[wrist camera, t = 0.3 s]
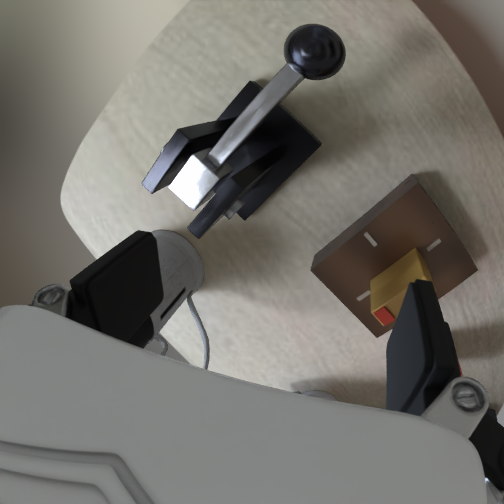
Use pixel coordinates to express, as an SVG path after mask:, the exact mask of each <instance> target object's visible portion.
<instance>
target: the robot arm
mask: <svg viewBox="0 0 504 504" xmlns="http://www.w3.org/2000/svg"><path fill="white" fill-rule="evenodd" d="M70 284H71V288H72V289H71V290H70V291H68V288H67V287H66V286H65V285H63V284H51V285H48V286H45V287H43V288H42V289H40V290H39V291H38V292H37V293H36V294H35V296H34V298H33V301H32V304H31V305H11V306H5V307H3V308H1V309H0V504H504V427H503V426H501V425H500V424H499V423H498V422H497V421H496V420H495V419H494V418H493V417H491V416H490V415H489V414H488V413H487V412H486V411H487V409H488V406H489V396H488V393H487V391H486V389H485V388H484V386H483V385H482V384H481V383H479V382H478V381H476V380H475V379H473V378H469V377H461V372H460V367H459V363H458V359H457V354H456V350H455V346H454V342H453V339H452V335H451V331H450V328H449V325H448V323H447V322H444V319H443V315H442V312H441V308H440V305H439V302H438V298H437V295H436V292H435V289H434V286H433V283H432V281H427V280H421V279H416V280H415V282H410V283H409V285H408V288H407V291H406V294H405V297H404V300H403V303H402V306H401V308H400V311H399V314H398V317H397V319H396V322H395V325H394V327H393V330H392V333H391V335H390V338H389V340H388V344H387V349H386V358H387V396H386V410H385V409H379V408H374V407H368V406H362V405H356V404H350V403H344V402H338V401H333V400H328V399H323V398H318V397H313V396H308V395H303V394H298V393H294V392H289V391H285V390H280V389H276V388H272V387H268V386H264V385H260V384H256V383H252V382H248V381H244V380H240V379H237V378H233V377H229V376H226V375H222V374H219V373H215V372H212V371H209V370H205V369H202V368H199V367H196V366H192V365H189V364H186V363H183V362H180V361H177V360H174V359H171V358H168V357H165V356H162V355H159V354H156V353H154V352H151V351H148V350H145V349H143V348H140V347H137V346H134V345H132V344H129V343H126V342H127V341H128V340H129V339H130V338H131V337H132V335H133V334H134V333H135V332H136V331H137V330H138V329H139V327H140V326H141V325H142V324H143V323H144V322H145V321H146V319H147V318H148V317H149V316H150V315H151V314H152V313H153V312H154V310H155V309H156V308H157V307H158V306H159V305H160V304H161V302H162V301H163V298H164V291H163V284H162V277H161V270H160V262H159V254H158V246H157V239H156V238H155V237H154V235H153V234H152V233H151V232H145V231H139V230H138V231H136V232H135V233H133V234H132V235H130V236H129V237H128V238H126V239H125V240H123V241H122V242H121V243H119V244H118V245H116V246H115V247H114V248H112V249H111V250H109V251H108V252H107V253H105V254H104V255H103V256H101V257H100V258H99V259H97V260H96V261H95V262H93V263H92V264H90V265H89V266H88V267H87V268H85V269H84V270H83V271H81V272H80V273H79V274H77V275H76V276H75V277H74V278H72V279H71V280H70Z"/></svg>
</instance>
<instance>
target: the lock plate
mask: <svg viewBox="0 0 504 504" xmlns="http://www.w3.org/2000/svg"><path fill="white" fill-rule="evenodd" d="M414 248H416V249H417V250H418V252H419V253H420V254H421V255H422V257H423V258H424V259H425V261H426V263H427V265H428V268H429V271H430V274H431V277H432V280H433V283H434V286H435V289H436V295H437V298H438V299H439V298H441V297H442V296H444V295H445V294H446V293H448V292H449V291H451V290H452V289H453V288H455V287H456V286H458V285H459V284H460V283H462V282H463V281H464V280H466V279H467V278H468V277H470V276H471V275H472V274H474V273H475V272H476V271H478V269H477V267H476V265H475V264H474V262H473V260H472V259H471V257H470V255H469V254H468V252H467V250H466V249H465V247H464V246H463V244H462V243H461V241H460V239H459V238H458V236H457V235H456V233H455V232H454V230H453V229H452V227H451V226H450V225H449V223H448V222H447V220H446V219H445V217H444V216H443V215H442V213H441V212H440V210H439V209H438V208H437V206H436V205H435V203H434V202H433V201H432V199H431V198H430V197H429V195H428V194H427V193H426V191H425V190H424V189H423V188H422V186H421V185H420V184H419V182H418V181H417V180H416V179H415V177H414V176H413V175H412V174H411V175H410V176H409V177H408V178H407V179H406V180H404V181H403V182H402V183H401V184H400V185H399V186H397V187H396V188H395V189H394V190H393V191H392V192H390V193H389V194H388V195H387V196H386V197H385V198H383V199H382V200H381V201H380V202H379V203H377V204H376V205H375V206H374V207H373V208H371V209H370V210H369V211H368V212H367V213H366V214H364V215H363V216H362V217H361V218H359V219H358V220H357V221H356V222H355V223H353V224H352V225H351V226H350V227H349V228H347V229H346V230H345V231H344V232H343V233H341V234H340V235H339V236H338V237H336V238H335V239H334V240H333V241H331V242H330V243H329V244H328V245H327V246H325V247H324V248H323V249H322V250H320V251H319V252H318V253H317V254H315V256H314V259H313V263H312V266H311V272H312V273H313V274H314V275H315V276H316V277H317V278H318V279H319V280H320V281H321V282H322V283H323V284H324V285H325V286H326V287H327V288H328V289H329V290H330V291H331V292H332V293H333V294H334V295H335V296H336V297H337V298H338V299H339V300H340V301H341V302H342V303H343V304H344V305H345V306H346V307H347V308H348V309H349V310H350V311H351V312H352V313H353V314H354V315H355V316H356V317H357V318H358V319H359V320H360V321H361V322H362V323H363V324H364V325H365V326H366V327H367V328H368V329H369V330H370V331H371V332H372V333H373V334H374V336H375V337H376V338H378V337H379V336H381V335H383V334H384V333H386V332H388V331H389V330H391V329H393V327H394V325H395V322H396V319H397V318H396V319H395V320H394V321H392V322H391V323H389V324H388V325H386V326H383V325H382V324H381V323H380V322H379V321H378V320H377V318H376V317H375V316H374V315H373V314H372V313H371V288H370V281H371V280H372V279H373V278H375V277H376V276H377V275H379V274H380V273H382V272H383V271H384V270H386V269H387V268H388V267H390V266H391V265H392V264H394V263H395V262H397V261H398V260H399V259H401V258H402V257H403V256H405V255H406V254H407V253H409V252H410V251H411V250H412V249H414Z"/></svg>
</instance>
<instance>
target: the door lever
mask: <svg viewBox="0 0 504 504" xmlns="http://www.w3.org/2000/svg"><path fill="white" fill-rule="evenodd" d="M284 57H285V60H286V62H287V64H286V65H285V66H284V67H283V68H282V69H281V70H280V71H279V72H278V73H277V74H276V75H275V76H274V77H273V78H272V80H271V81H270V82H269V83H268V84H267V85H266V86H265V87H264V88H263V89H262V90H261V92H260V93H259V94H258V95H257V96H256V97H255V98H254V99H253V101H252V102H251V103H250V104H249V105H248V106H247V107H246V109H245V110H244V111H243V112H242V113H241V114H240V115H239V117H238V118H237V119H236V120H235V121H234V123H233V124H232V125H231V126H230V127H229V128H228V130H227V131H226V132H225V133H224V134H223V136H222V137H221V138H220V139H219V141H218V142H217V143H216V144H215V145H214V147H213V148H211V147H209V148H206V149H203V150H201V151H198V152H196V153H193V154H192V155H191V156H190V158H189V159H188V160H187V162H186V163H185V164H184V166H183V167H182V168H181V170H180V171H179V173H178V174H177V175H176V177H175V178H174V179H173V181H172V182H171V184H170V185H169V188H170V189H171V190H172V191H173V192H174V193H175V194H176V195H177V196H178V197H179V198H180V199H181V200H182V201H183V202H185V203H186V204H187V205H188V206H189V207H190V208H191V209H192V210H193V211H194V210H196V209H197V208H198V207H200V206H201V205H202V204H204V203H205V202H206V201H208V200H209V199H210V198H211V197H212V196H213V195H214V193H215V192H216V191H217V190H218V189H219V188H220V186H221V185H222V184H223V183H224V182H225V181H226V180H227V178H228V177H229V176H230V175H231V174H232V173H233V172H234V169H233V168H232V167H231V166H230V165H229V164H228V161H229V160H230V159H231V158H232V157H233V156H234V154H235V153H236V152H237V151H238V150H239V149H240V148H241V146H242V145H243V144H244V143H245V142H246V141H247V140H248V138H249V137H250V136H251V135H252V134H253V133H254V132H255V131H256V130H257V128H258V127H259V126H260V125H261V124H262V123H263V122H264V121H265V120H266V119H267V117H268V116H269V115H270V114H271V113H272V112H273V111H274V110H275V109H276V108H277V107H278V106H279V105H280V103H281V102H282V101H283V100H284V99H285V98H286V97H287V96H288V95H289V94H290V93H291V92H292V91H293V90H294V89H295V88H296V87H297V86H298V85H299V84H300V83H301V82H302V81H303V80H304V79H305V78H306V79H310V80H324V79H327V78H330V77H332V76H334V75H335V74H336V73H337V72H338V71H339V70H340V69H341V68H342V66H343V64H344V61H345V57H346V51H345V46H344V44H343V41H342V40H341V38H340V37H339V35H338V34H337V33H336V32H334V31H333V30H332V29H330V28H328V27H326V26H323V25H319V24H306V25H302V26H300V27H298V28H296V29H295V30H293V31H292V32H291V33H290V34H289V35H288V37H287V39H286V41H285V44H284Z"/></svg>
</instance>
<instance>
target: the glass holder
mask: <svg viewBox="0 0 504 504" xmlns="http://www.w3.org/2000/svg"><path fill="white" fill-rule="evenodd" d="M151 233H152V234H153V235H154V237H155V238H156V239H157V246H158V254H159V262H160V270H161V277H162V284H163V291H164V298H163V301H162V302H161V304H160V305H159V306H158V307H157V308H156V309H155V310H154V312H153V313H152V314H151V315H150V316H149V317H148V318H147V319H146V321H145V322H144V323H143V324H142V325H141V326H140V327H139V329H138V330H137V331H136V332H135V333H134V334H133V335H132V337H131V338H130V339H129V340H128V341H127V342H126V343H129V344H132V345H134V346H137V347H140V348H144V347H145V346H146V345H147V344H149V343H150V342H151V341H152V340H153V339H155V340H157V341H158V342H160V343H161V344H162V345H163V351H162V353H161V354H160V355H162V356H165V354H166V352H167V350H168V344H167V342H166V340H165V339H164V338H163V337H161V336H160V335H159V334H158V333H159V331H160V330H161V329H162V328H163V326H164V325H165V324H166V323H167V321H168V320H169V319H170V318H171V316H172V315H173V314H174V313H175V311H176V310H177V309H178V308H179V306H180V305H181V304H182V303H183V301H184V300H185V299H186V298H187V302H188V305H189V308H190V311H191V313H192V315H193V317H194V319H195V321H196V323H197V326H198V328H199V331H200V333H201V336H202V339H203V343H204V365H203V369H205V370H207V369H208V364H209V352H210V348H209V339H208V336H207V333H206V331H205V328H204V326H203V324H202V321H201V319H200V317H199V315H198V313H197V311H196V308H195V306H194V304H193V301H192V298H191V296H192V295H193V293H195V292H196V291H197V290H198V289H199V288H200V286H201V285H202V282H203V279H204V268H203V263H202V261H201V258H200V256H199V254H198V252H197V251H196V249H195V248H194V247H193V246H192V245H191V244H190V243H189V242H188V241H187V240H186V239H185V238H183V237H182V236H180V235H179V234H177V233H174V232H172V231H167V230H157V231H153V232H151ZM187 296H188V297H187Z"/></svg>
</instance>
